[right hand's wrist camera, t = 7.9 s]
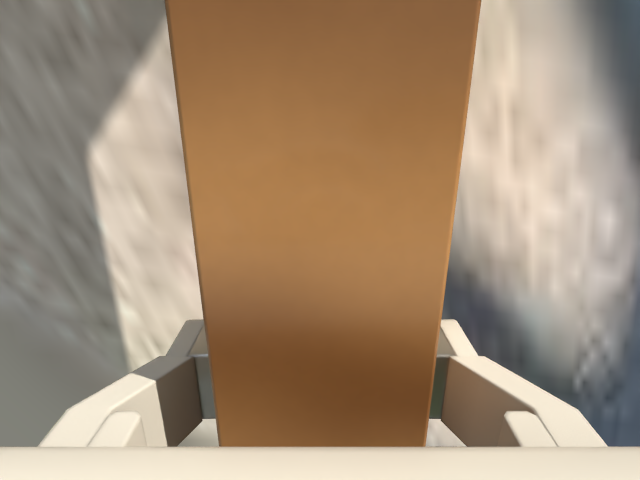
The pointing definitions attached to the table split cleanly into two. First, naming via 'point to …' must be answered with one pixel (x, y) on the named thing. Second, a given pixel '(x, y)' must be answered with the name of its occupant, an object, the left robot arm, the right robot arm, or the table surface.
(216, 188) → the beam
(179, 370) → the right robot arm
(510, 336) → the table surface
